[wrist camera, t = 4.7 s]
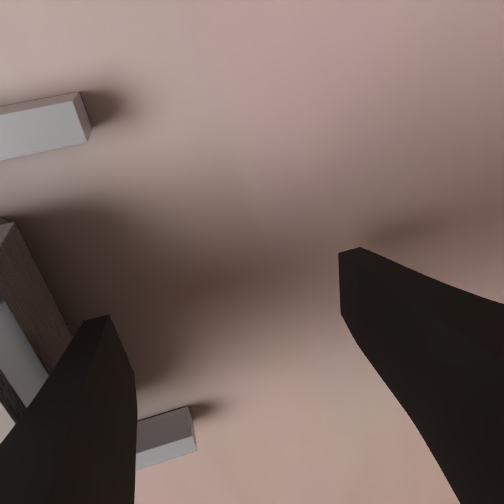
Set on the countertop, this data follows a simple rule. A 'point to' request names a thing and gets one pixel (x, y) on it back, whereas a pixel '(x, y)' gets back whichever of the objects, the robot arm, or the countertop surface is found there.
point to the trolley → (24, 328)
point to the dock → (63, 135)
